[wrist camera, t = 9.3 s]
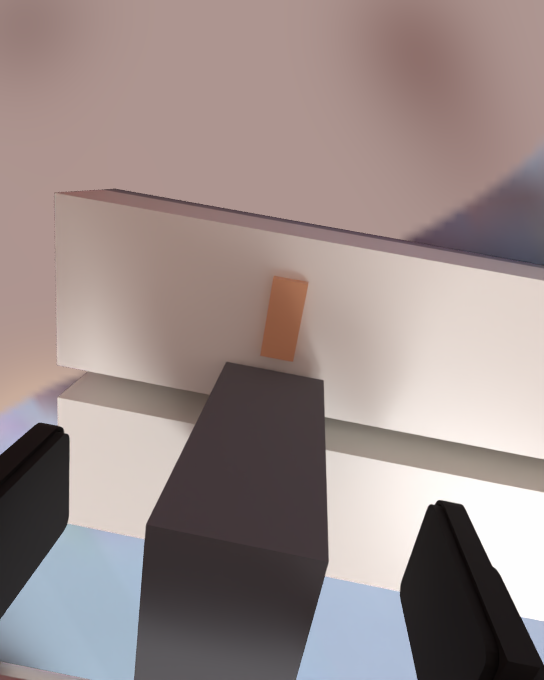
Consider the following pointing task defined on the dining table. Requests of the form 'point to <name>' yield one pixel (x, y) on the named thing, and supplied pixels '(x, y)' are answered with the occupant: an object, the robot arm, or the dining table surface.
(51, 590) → the dining table surface
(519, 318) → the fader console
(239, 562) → the fader tab
